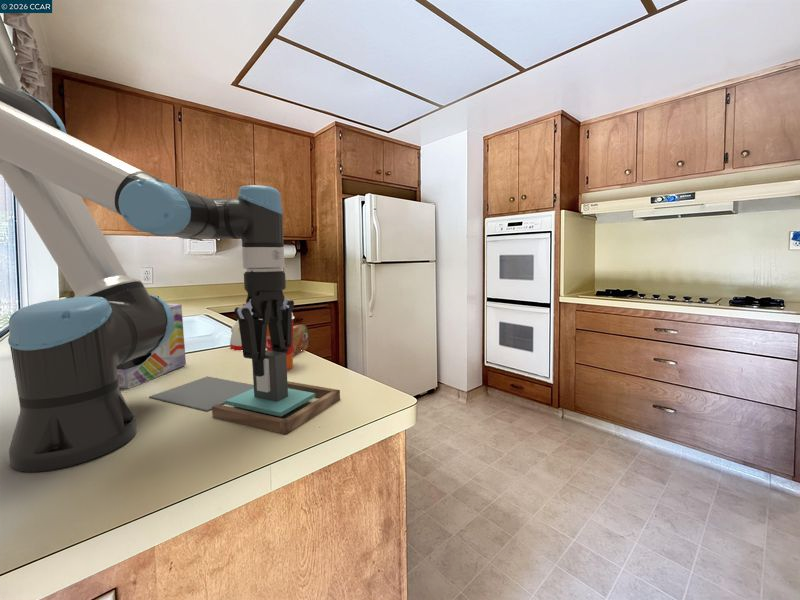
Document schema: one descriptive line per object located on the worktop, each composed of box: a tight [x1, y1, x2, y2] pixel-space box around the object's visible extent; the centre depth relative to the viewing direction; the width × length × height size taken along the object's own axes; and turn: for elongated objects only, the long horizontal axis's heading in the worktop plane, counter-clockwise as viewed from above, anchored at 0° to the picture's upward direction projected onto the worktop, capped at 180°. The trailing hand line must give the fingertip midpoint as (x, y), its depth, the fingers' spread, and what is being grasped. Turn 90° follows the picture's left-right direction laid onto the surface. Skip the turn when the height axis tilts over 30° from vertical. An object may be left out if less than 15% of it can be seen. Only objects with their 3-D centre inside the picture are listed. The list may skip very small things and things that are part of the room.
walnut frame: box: [211, 380, 341, 435], centre depth 72 cm, size 16×18×2 cm
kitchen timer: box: [229, 303, 267, 351], centre depth 122 cm, size 14×14×15 cm
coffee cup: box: [262, 312, 295, 371], centre depth 96 cm, size 8×8×15 cm
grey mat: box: [149, 376, 254, 412], centre depth 80 cm, size 14×18×1 cm
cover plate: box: [225, 349, 316, 418], centre depth 72 cm, size 10×14×10 cm
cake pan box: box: [117, 302, 187, 390], centre depth 91 cm, size 19×5×18 cm, turn 170°
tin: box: [293, 324, 310, 358], centre depth 112 cm, size 15×3×8 cm, turn 168°
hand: (270, 387), depth 72 cm, fingers closed on cover plate, 3 cm apart
